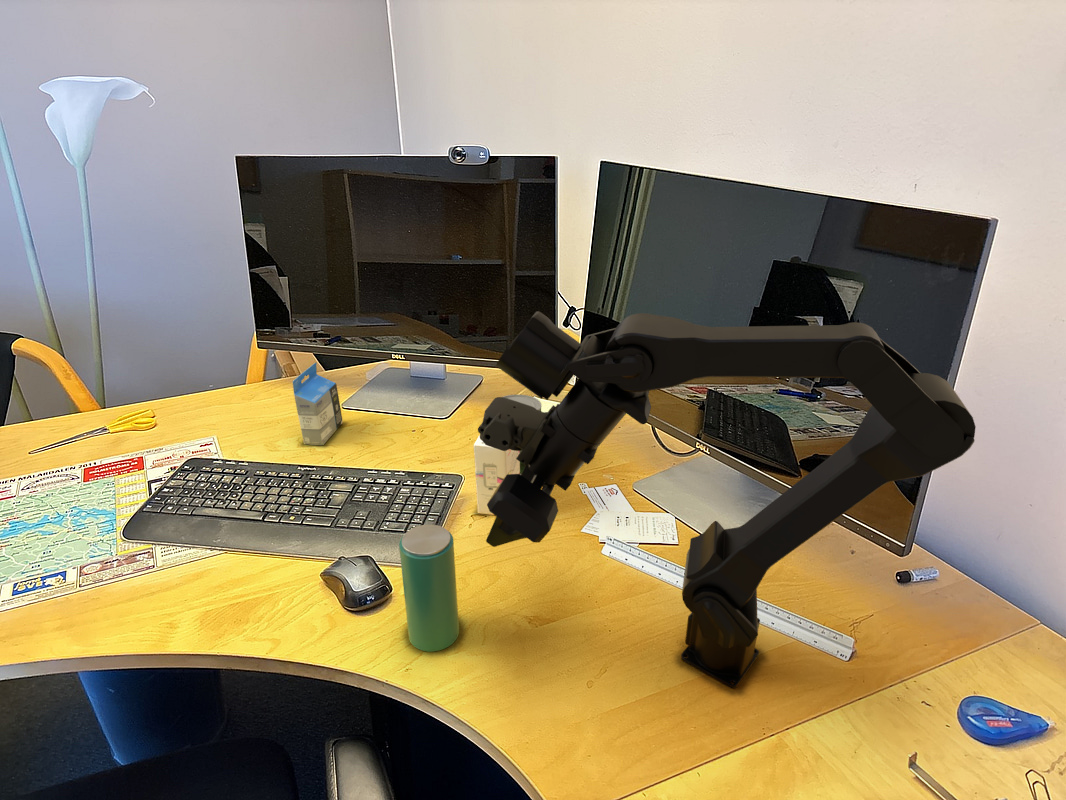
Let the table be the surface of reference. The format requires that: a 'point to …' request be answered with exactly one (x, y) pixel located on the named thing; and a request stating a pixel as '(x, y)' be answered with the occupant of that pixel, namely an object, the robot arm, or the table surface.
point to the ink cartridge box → (492, 471)
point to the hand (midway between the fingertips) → (503, 518)
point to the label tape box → (317, 406)
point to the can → (429, 587)
